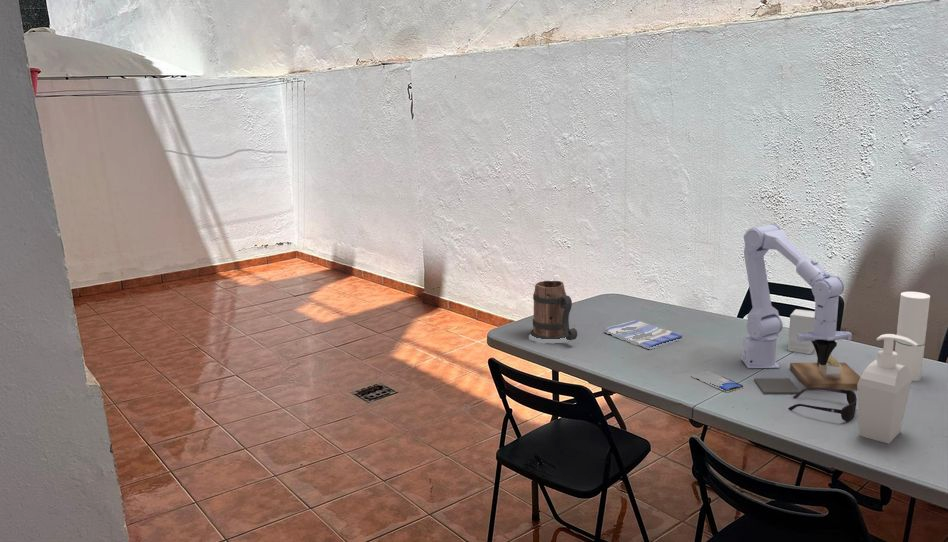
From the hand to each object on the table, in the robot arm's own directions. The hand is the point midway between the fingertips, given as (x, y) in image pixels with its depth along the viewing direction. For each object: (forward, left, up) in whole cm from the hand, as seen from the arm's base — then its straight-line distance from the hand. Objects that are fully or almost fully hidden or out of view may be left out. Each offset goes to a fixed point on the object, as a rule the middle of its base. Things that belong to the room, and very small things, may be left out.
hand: (822, 363), depth 200 cm
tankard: (-77, +42, -7) cm, 87 cm away
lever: (+4, +5, 0) cm, 6 cm away
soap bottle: (+4, -30, -7) cm, 31 cm away
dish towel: (-46, +44, -8) cm, 64 cm away
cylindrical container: (+26, +7, -7) cm, 28 cm away
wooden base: (+3, +5, -7) cm, 9 cm away
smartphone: (-29, +3, -7) cm, 30 cm away
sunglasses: (-5, -16, -7) cm, 18 cm away
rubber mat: (-13, -1, -7) cm, 14 cm away
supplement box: (+4, +30, -7) cm, 31 cm away
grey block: (+3, +3, -5) cm, 7 cm away
